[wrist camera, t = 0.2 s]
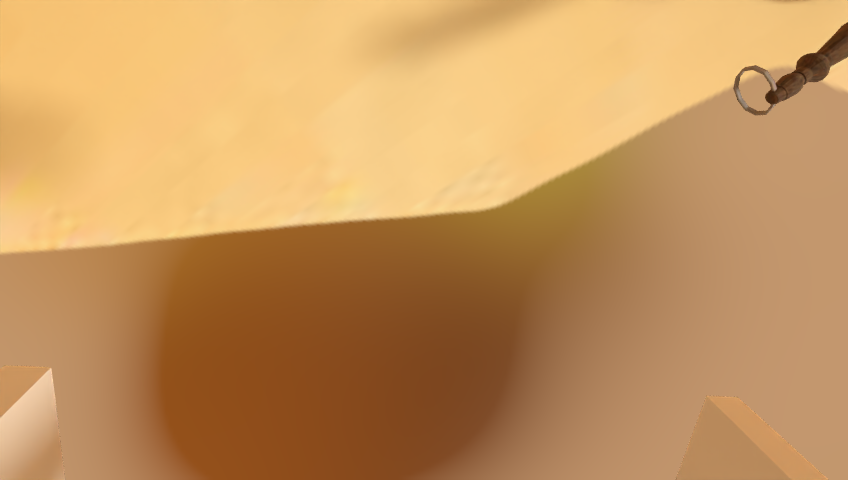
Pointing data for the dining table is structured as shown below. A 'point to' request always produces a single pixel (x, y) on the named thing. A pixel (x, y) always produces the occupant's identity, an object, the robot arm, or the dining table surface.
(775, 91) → the coffee pot
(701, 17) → the dining table surface
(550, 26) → the dining table surface
